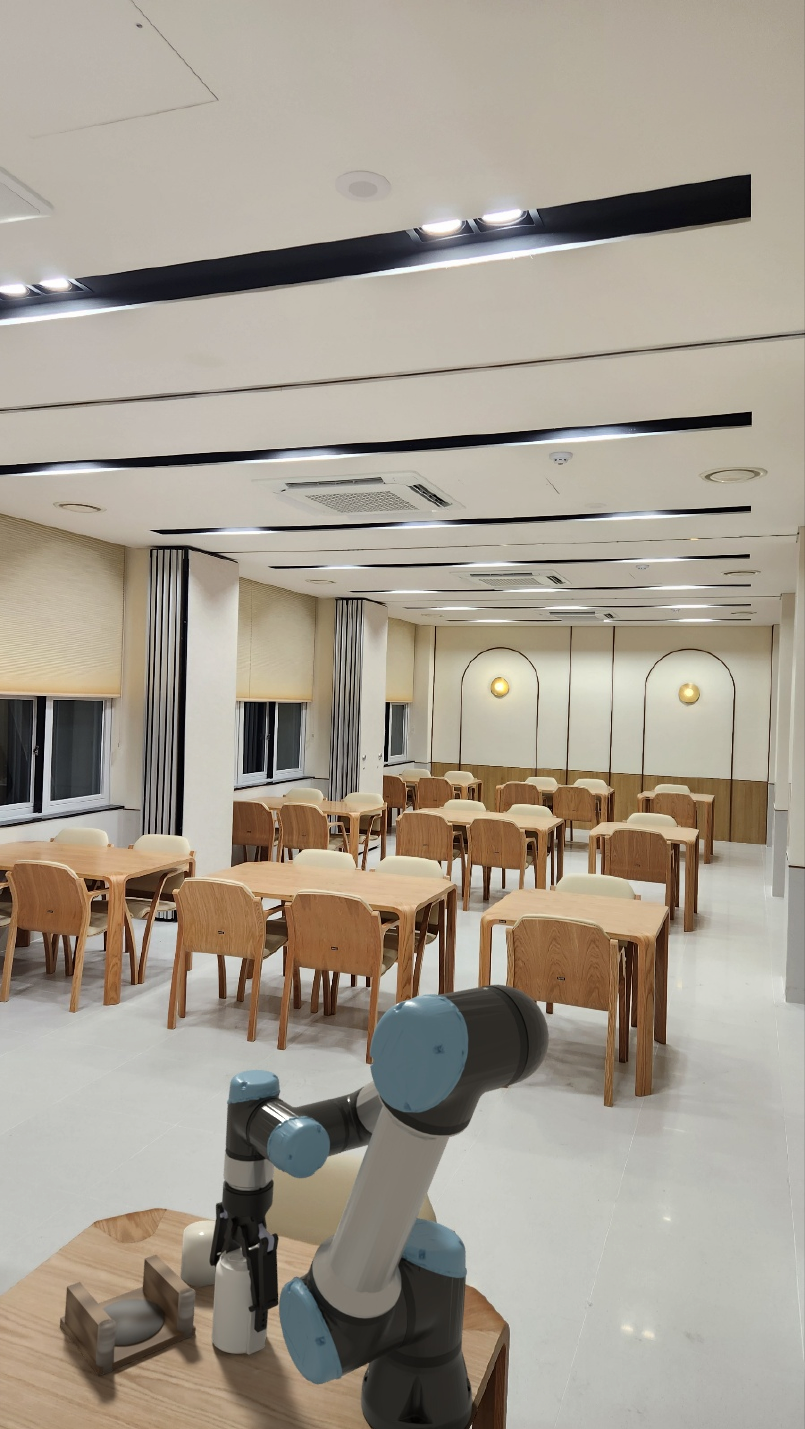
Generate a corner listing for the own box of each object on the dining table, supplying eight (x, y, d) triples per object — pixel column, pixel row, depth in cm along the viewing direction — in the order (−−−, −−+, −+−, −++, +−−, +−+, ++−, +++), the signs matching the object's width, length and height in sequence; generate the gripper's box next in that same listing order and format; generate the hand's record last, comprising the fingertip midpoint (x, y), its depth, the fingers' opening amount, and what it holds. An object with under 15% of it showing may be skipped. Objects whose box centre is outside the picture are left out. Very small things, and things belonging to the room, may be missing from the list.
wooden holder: (195, 1334, 135) (198, 1293, 135) (99, 1376, 125) (102, 1332, 125) (152, 1288, 146) (154, 1251, 146) (59, 1324, 136) (62, 1283, 136)
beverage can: (254, 1362, 130) (260, 1277, 130) (202, 1351, 131) (207, 1267, 132) (274, 1327, 138) (278, 1247, 138) (224, 1318, 139) (229, 1238, 140)
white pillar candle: (231, 1276, 150) (234, 1233, 151) (193, 1291, 146) (196, 1247, 146) (209, 1257, 155) (212, 1216, 156) (173, 1271, 151) (175, 1228, 151)
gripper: (310, 1200, 130) (300, 1361, 129) (233, 1147, 146) (225, 1291, 145) (266, 1215, 125) (256, 1384, 124) (192, 1159, 141) (182, 1308, 140)
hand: (239, 1334), depth 134 cm, fingers closed on beverage can, 8 cm apart
